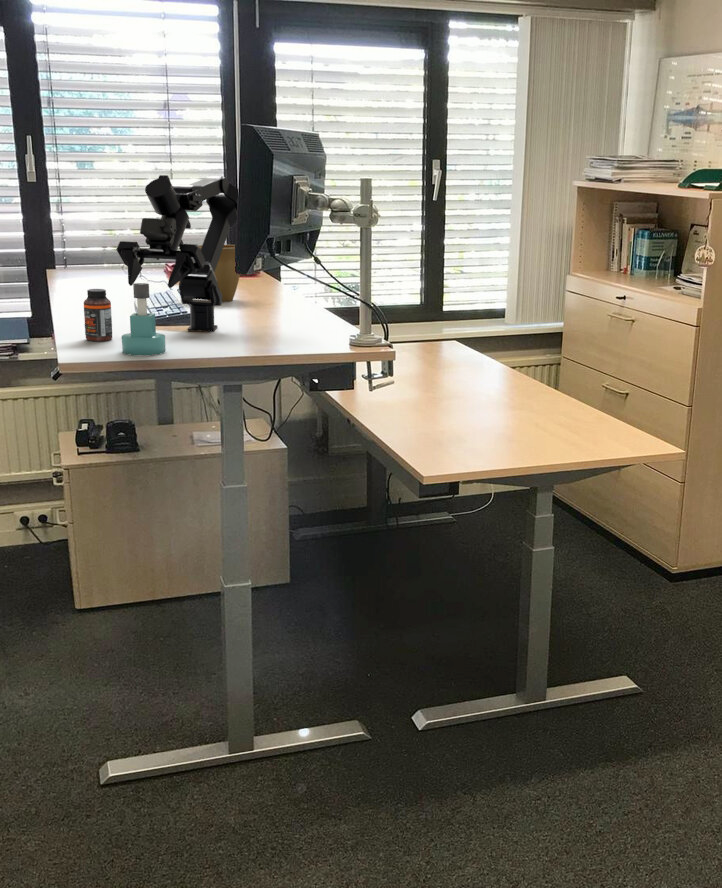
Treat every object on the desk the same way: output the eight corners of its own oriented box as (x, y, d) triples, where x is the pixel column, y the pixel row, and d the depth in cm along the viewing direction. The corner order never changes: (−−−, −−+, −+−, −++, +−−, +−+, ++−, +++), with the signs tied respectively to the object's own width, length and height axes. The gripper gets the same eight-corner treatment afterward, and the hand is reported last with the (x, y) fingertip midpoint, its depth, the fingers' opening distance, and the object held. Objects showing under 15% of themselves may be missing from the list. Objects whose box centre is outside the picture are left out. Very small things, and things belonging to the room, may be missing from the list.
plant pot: (248, 297, 282) (247, 244, 277) (240, 304, 268) (239, 248, 263) (199, 296, 282) (198, 243, 278) (189, 303, 268) (187, 247, 263)
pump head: (136, 321, 197) (135, 283, 195) (151, 321, 197) (150, 283, 195) (133, 323, 194) (131, 284, 192) (148, 323, 194) (147, 285, 192)
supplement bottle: (79, 340, 208) (76, 289, 205) (98, 336, 213) (95, 287, 210) (100, 342, 206) (96, 292, 202) (118, 339, 211) (115, 289, 207)
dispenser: (127, 347, 201) (126, 311, 199) (169, 348, 202) (167, 312, 199) (118, 355, 193) (116, 317, 191) (161, 356, 193) (159, 318, 191)
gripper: (118, 202, 199) (94, 258, 192) (198, 205, 195) (177, 262, 188) (137, 238, 209) (115, 292, 202) (213, 241, 204) (194, 297, 197)
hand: (149, 285), depth 197 cm, fingers open, 9 cm apart
